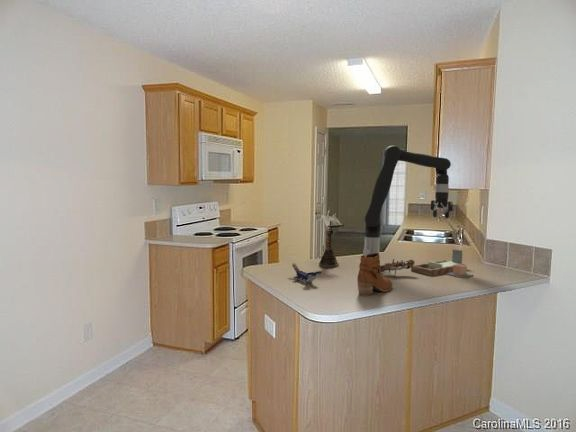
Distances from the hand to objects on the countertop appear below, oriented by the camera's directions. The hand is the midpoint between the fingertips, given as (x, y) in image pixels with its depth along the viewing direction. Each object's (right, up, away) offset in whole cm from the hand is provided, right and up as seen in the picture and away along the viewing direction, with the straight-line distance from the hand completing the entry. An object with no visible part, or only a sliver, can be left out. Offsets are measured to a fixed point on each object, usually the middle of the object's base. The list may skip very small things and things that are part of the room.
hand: (440, 217), depth 247 cm
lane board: (-5, -31, -10) cm, 33 cm away
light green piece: (+1, -29, -6) cm, 30 cm away
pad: (+3, -32, -21) cm, 39 cm away
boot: (-52, -35, -54) cm, 83 cm away
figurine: (-38, -33, -23) cm, 55 cm away
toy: (-86, -33, -35) cm, 99 cm away
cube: (+3, -32, -21) cm, 38 cm away
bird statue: (-67, -30, 0) cm, 74 cm away
